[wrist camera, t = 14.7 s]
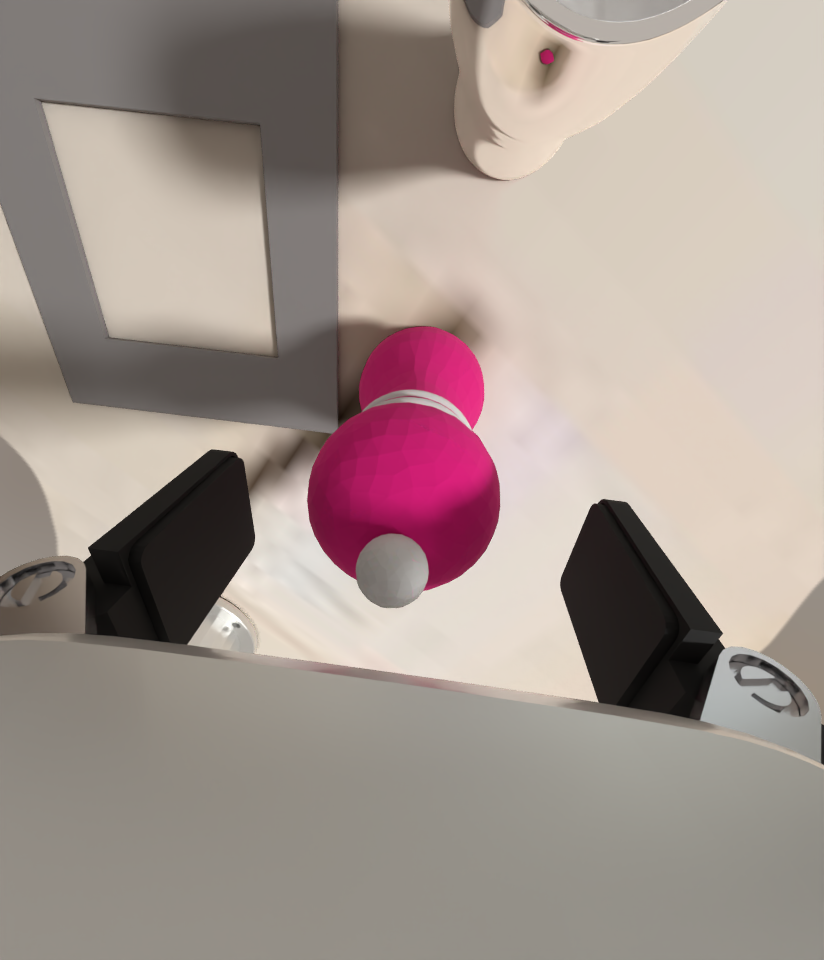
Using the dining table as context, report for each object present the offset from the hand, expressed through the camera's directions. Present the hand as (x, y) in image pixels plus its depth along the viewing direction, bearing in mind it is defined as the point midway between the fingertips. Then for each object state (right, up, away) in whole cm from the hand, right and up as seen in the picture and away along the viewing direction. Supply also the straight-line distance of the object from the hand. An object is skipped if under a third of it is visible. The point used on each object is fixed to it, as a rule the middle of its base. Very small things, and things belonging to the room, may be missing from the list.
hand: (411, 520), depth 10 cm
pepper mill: (+1, +8, +16) cm, 18 cm away
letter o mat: (-14, +15, +13) cm, 25 cm away
